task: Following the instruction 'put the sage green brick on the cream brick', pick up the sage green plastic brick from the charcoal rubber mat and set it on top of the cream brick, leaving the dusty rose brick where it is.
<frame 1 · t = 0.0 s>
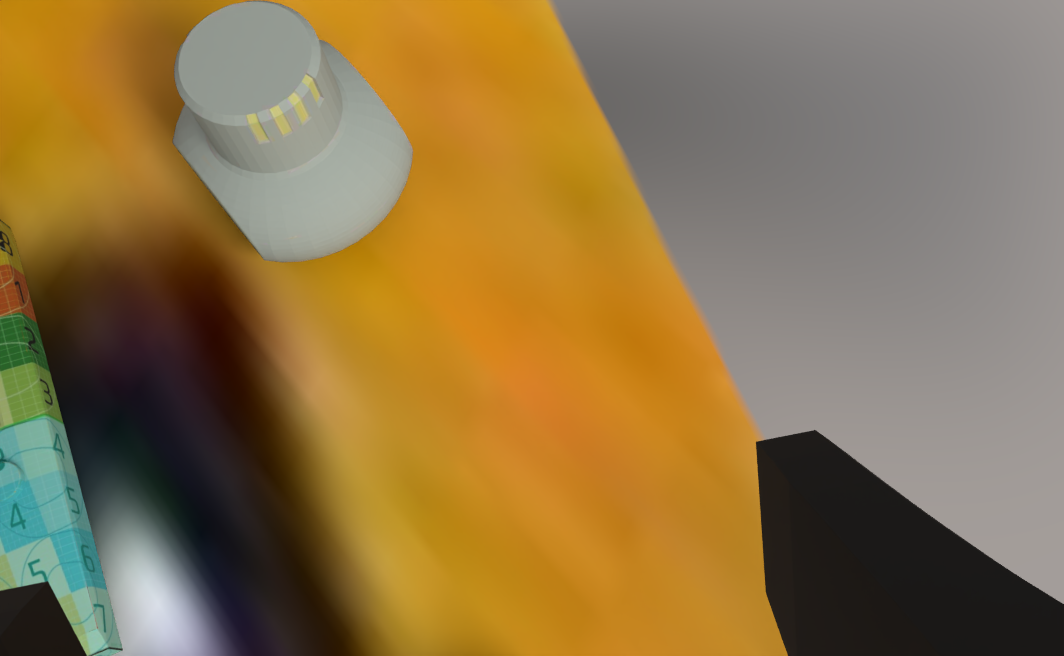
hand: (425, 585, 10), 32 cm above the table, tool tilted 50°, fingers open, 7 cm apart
air freshener: (311, 182, 49), on the table
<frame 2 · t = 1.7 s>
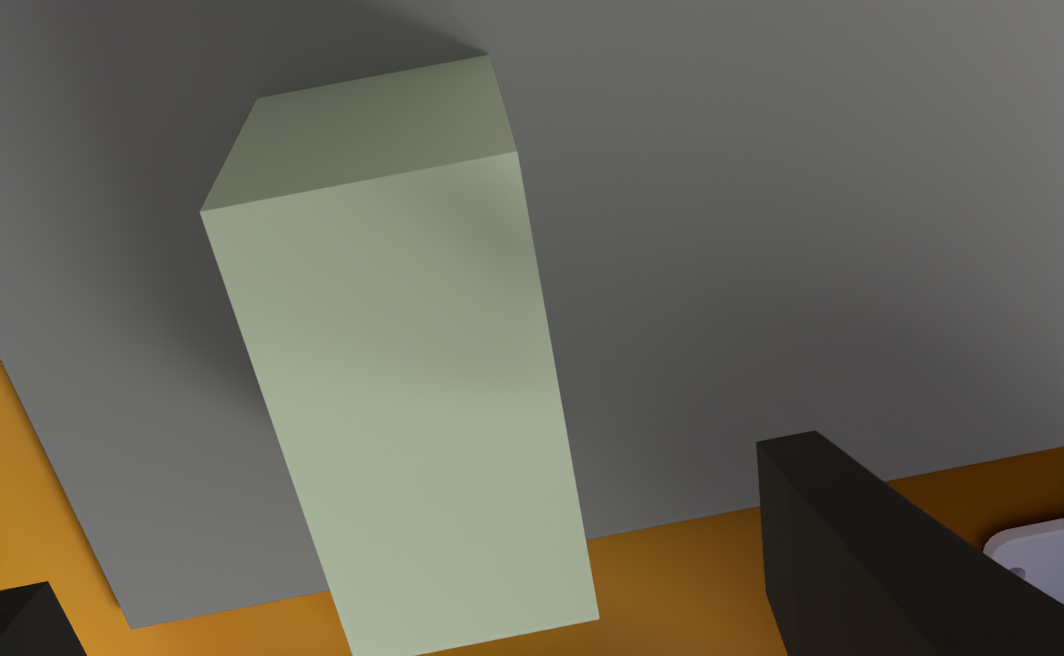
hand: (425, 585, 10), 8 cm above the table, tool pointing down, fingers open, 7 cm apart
sage brick: (423, 284, 17), resting on mat
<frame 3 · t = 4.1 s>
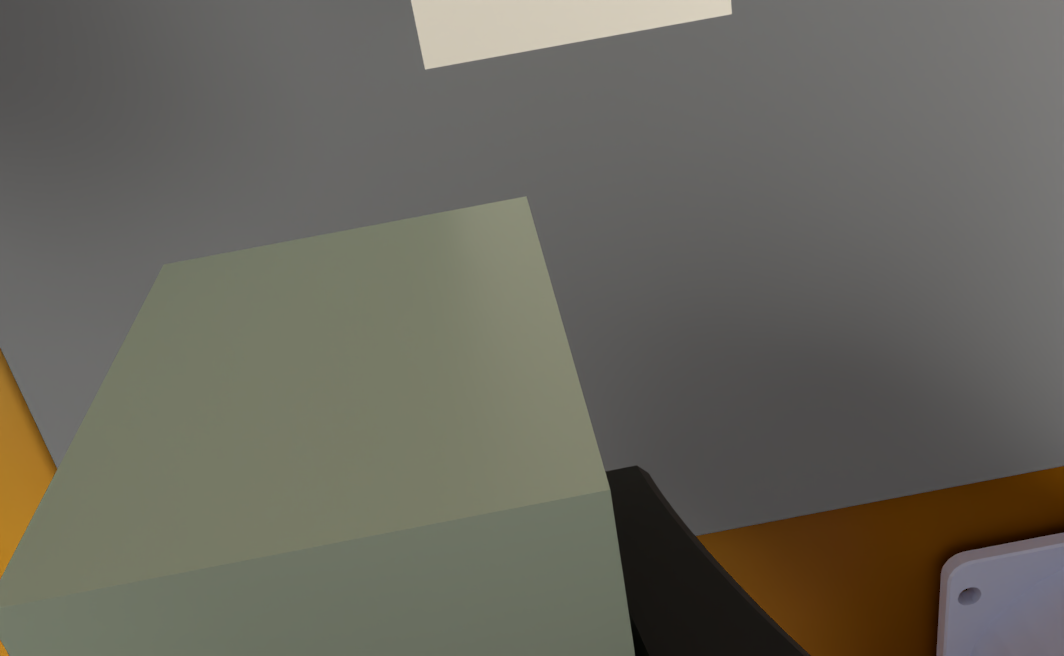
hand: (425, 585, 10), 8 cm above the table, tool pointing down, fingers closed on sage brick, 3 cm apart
sage brick: (422, 515, 11), point 7 cm above the table, touching gripper
mat: (606, 56, 16), on the table
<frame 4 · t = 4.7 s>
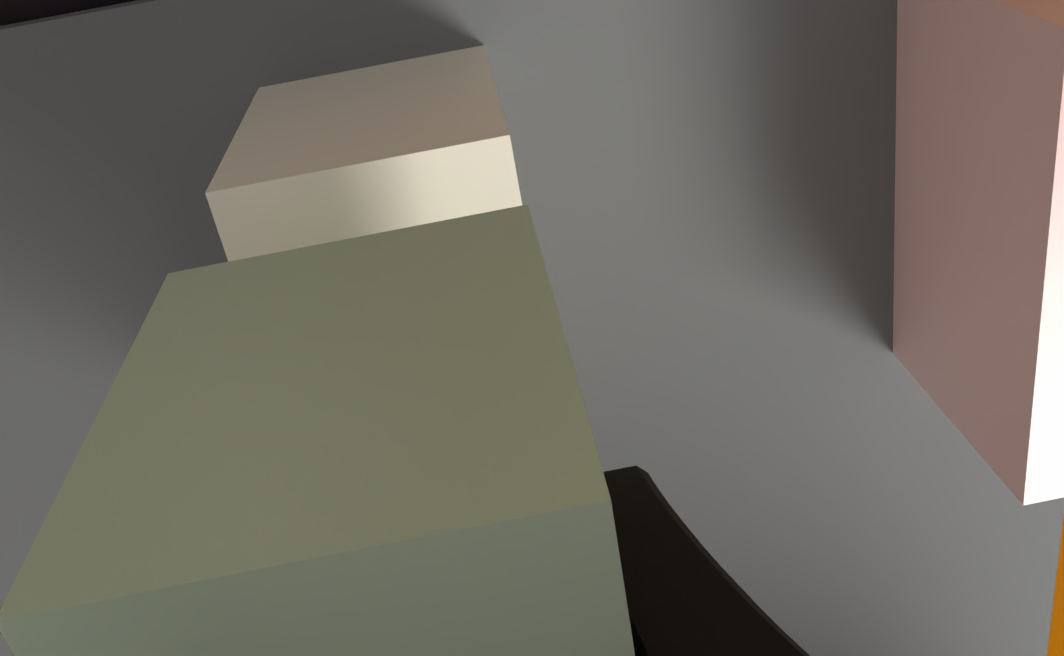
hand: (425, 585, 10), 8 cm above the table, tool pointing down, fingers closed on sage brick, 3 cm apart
sage brick: (425, 520, 11), point 7 cm above the table, touching gripper
mat: (524, 478, 20), on the table
cream brick: (420, 270, 17), resting on mat
rose brick: (994, 159, 17), resting on mat
when the fingers open (7 cm above the table, at t = 5.3 s): sage brick stays where it is, resting on cream brick.
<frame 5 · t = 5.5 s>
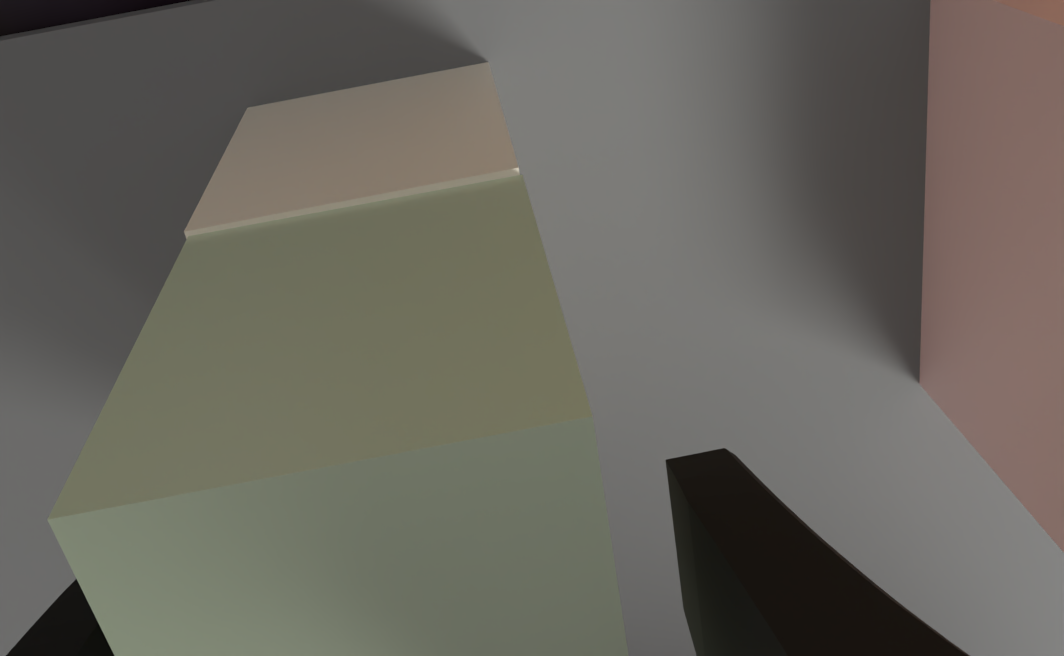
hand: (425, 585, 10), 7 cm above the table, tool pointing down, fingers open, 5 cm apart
sage brick: (424, 474, 12), point 5 cm above the table, touching cream brick
mat: (529, 514, 19), on the table
cream brick: (420, 299, 16), resting on mat, touching sage brick
rose brick: (1030, 181, 16), resting on mat
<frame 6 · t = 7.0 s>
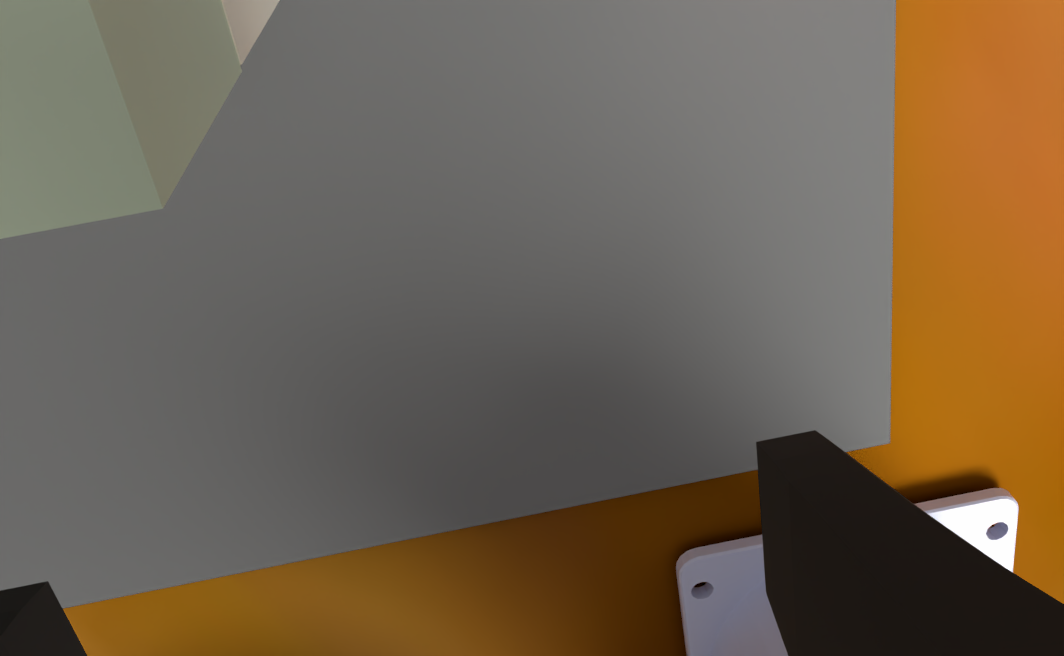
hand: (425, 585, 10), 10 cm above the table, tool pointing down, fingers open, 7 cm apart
mat: (266, 87, 17), on the table
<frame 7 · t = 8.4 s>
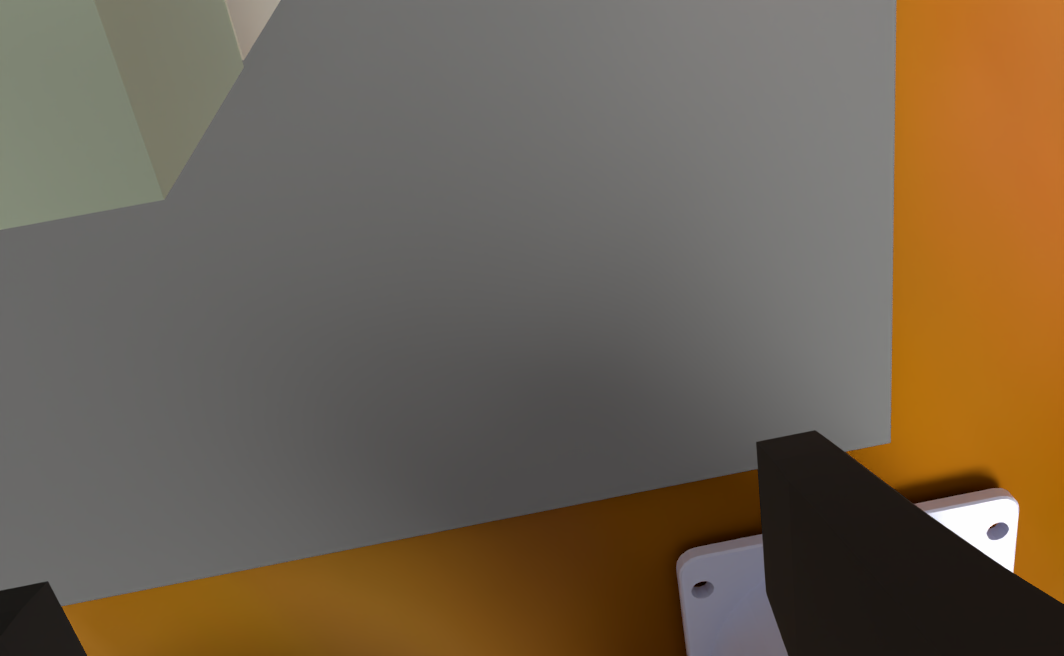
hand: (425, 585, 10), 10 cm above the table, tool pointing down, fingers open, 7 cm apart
mat: (268, 85, 18), on the table
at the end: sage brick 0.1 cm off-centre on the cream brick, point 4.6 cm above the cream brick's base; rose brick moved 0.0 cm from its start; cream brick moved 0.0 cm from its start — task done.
